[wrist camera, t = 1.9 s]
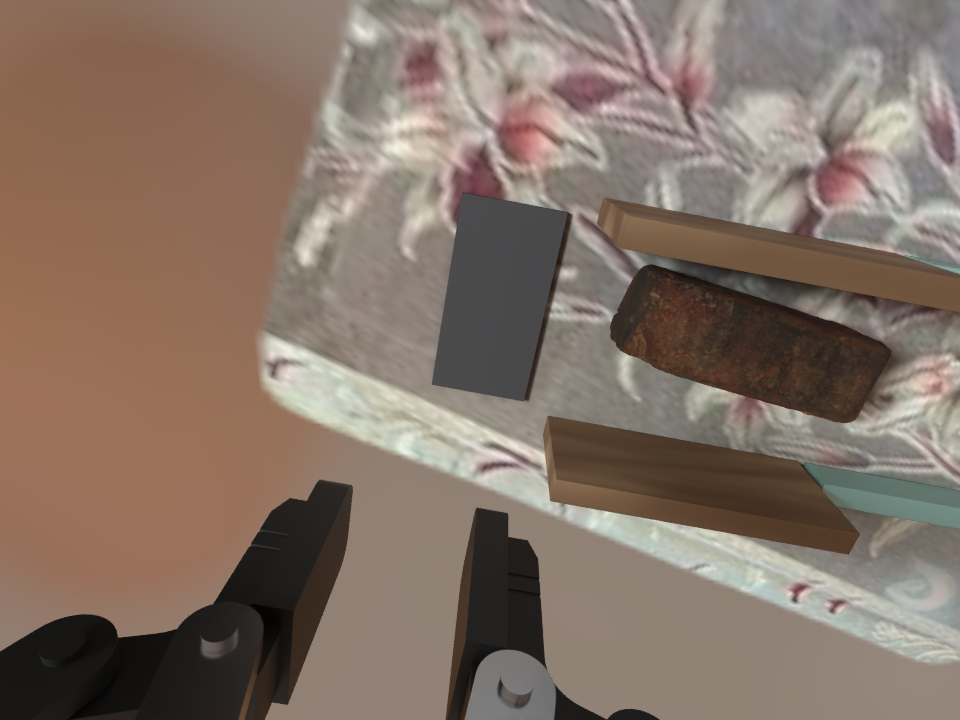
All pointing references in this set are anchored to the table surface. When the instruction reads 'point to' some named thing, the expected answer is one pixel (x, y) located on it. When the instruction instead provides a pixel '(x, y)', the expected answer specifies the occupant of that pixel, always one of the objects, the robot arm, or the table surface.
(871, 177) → the table surface
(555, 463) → the trench
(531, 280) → the pad
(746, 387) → the brick
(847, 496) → the bay
